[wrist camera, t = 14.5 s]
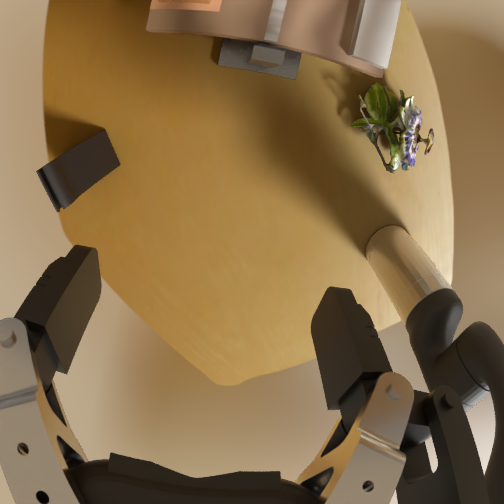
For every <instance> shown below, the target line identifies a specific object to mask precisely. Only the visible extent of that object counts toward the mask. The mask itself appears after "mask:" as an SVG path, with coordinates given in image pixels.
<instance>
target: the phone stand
mask: <svg viewBox="0 0 504 504" xmlns="http://www.w3.org/2000/svg"><path fill="white" fill-rule="evenodd" d="M118 166H120V163H119V160H118V158H117V156H116V154H115V151H114V149H113V147H112V144H111V142H110V140H109V137H108V135H107V133H106V130H104V131H102V132H100V133H98V134H96V135H95V136H93V137H91V138H89V139H87V140H86V141H84V142H82V143H80V144H79V145H77V146H75V147H73V148H72V149H70V150H68V151H67V152H65V153H63V154H62V155H60V156H59V157H57V158H55V159H54V160H52V161H51V162H49V163H48V164H46V165H45V166H43V167H42V168H41V169H39V170H37V171H36V172H37V174H38V176H39V178H40V180H41V182H42V184H43V186H44V188H45V190H46V192H47V194H48V196H49V198H50V200H51V202H52V204H53V205H54V207H55V209H56V211H57V212H59V211H60V208H61V207H63V209H65V208H66V207H68V206H69V205H70V204H72V203H73V202H74V201H75V200H76V199H77V198H78V197H79V196H80V195H81V194H82V193H84V192H85V191H86V190H87V189H89V188H90V187H91V186H93V185H94V184H95V183H97V182H98V181H99V180H100V179H102V178H103V177H104V176H106V175H107V174H109V173H110V172H111V171H113V170H114V169H115V168H117V167H118Z"/></svg>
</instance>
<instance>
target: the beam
mask: <svg viewBox="0 0 504 504" xmlns="http://www.w3.org/2000/svg"><path fill="white" fill-rule="evenodd" d="M400 4H401V0H211V1H210V4H200V3H180V2H159V1H158V0H152V2H151V6H150V12H149V17H148V21H147V26H146V31H148V32H150V33H179V34H195V35H206V36H216V37H224V38H231V39H238V40H245V41H250V42H256V43H261V44H266V45H271V46H276V47H280V48H285V49H289V50H293V51H297V52H301V53H304V54H308V55H312V56H315V57H319V58H322V59H325V60H328V61H331V62H335V63H338V64H340V65H343V66H346V67H349V68H352V69H355V70H357V71H360V72H363V73H365V74H368V75H370V76H373V77H378V78H382V77H383V73H384V69H387V66H388V62H389V58H390V54H391V49H392V45H393V40H394V35H395V31H396V26H397V21H398V15H399V10H400Z"/></svg>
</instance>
